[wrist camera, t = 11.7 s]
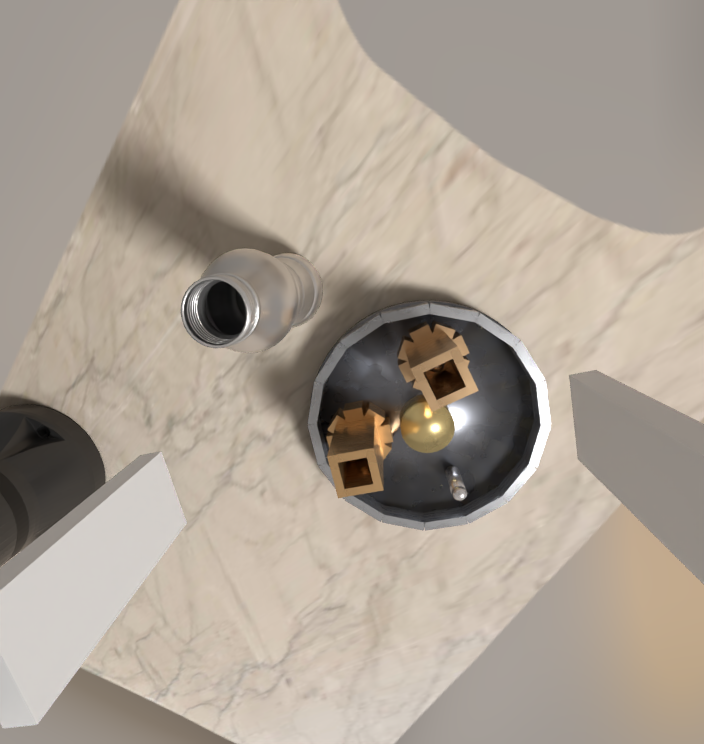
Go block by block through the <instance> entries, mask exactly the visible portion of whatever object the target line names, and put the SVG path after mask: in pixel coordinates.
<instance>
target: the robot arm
mask: <svg viewBox="0 0 704 744" xmlns="http://www.w3.org/2000/svg"><path fill="white" fill-rule="evenodd" d="M569 379H570V388H571V398H572V408H573V417H574V427H575V437H576V446H577V456H578V460H579V461H580V462H581V463H582V464H583V465H584V466H585V467H586V468H587V469H588V470H589V471H590V472H591V473H592V474H593V475H594V476H595V477H596V478H598V479H599V480H600V481H601V482H602V483H603V484H604V485H605V486H606V487H607V488H608V489H609V490H610V491H611V492H612V493H613V494H614V495H615V496H616V497H617V498H618V499H619V500H620V501H621V502H622V503H623V504H624V505H625V506H626V507H627V508H628V509H629V510H630V511H631V512H632V513H633V514H634V515H635V516H636V517H637V518H638V519H639V520H640V521H641V522H642V523H643V524H644V525H645V526H646V527H647V528H648V529H649V530H650V531H651V532H652V533H653V534H654V535H655V536H656V537H657V538H658V539H659V540H660V541H661V542H662V543H663V544H664V545H665V546H666V547H667V548H668V549H669V550H670V551H671V552H672V553H673V554H674V555H675V556H676V557H677V558H678V559H679V560H680V561H681V562H682V563H683V564H684V565H685V566H686V567H687V568H688V569H689V570H690V571H691V572H692V573H693V574H694V575H695V576H696V577H697V578H698V579H699V580H700V581H701V582H702V583H703V584H704V424H702V423H701V422H699V421H697V420H695V419H693V418H691V417H689V416H687V415H685V414H683V413H681V412H679V411H677V410H675V409H673V408H671V407H669V406H667V405H665V404H663V403H661V402H659V401H657V400H655V399H653V398H651V397H649V396H647V395H645V394H643V393H641V392H639V391H637V390H635V389H633V388H631V387H629V386H627V385H625V384H623V383H621V382H619V381H617V380H615V379H613V378H611V377H609V376H607V375H605V374H603V373H601V372H599V371H597V370H594V371H589V372H583V373H578V374H573V375H569ZM186 524H187V522H186V519H185V516H184V513H183V511H182V508H181V505H180V502H179V499H178V497H177V494H176V491H175V488H174V485H173V482H172V480H171V477H170V474H169V471H168V468H167V466H166V463H165V460H164V457H163V454H162V451H161V452H156V453H150V454H145V455H140V456H139V457H138V458H136V459H135V460H134V461H133V462H131V463H130V464H129V465H128V466H127V467H125V468H124V469H123V470H122V471H120V472H119V473H118V474H117V475H115V476H114V477H113V478H112V479H110V480H109V481H108V482H107V483H105V470H104V465H103V461H102V459H101V456H100V454H99V451H98V449H97V448H96V446H95V444H94V443H93V441H92V440H91V438H90V437H89V436H88V435H87V434H86V432H85V431H84V430H83V429H82V428H81V427H80V426H78V425H77V424H76V423H75V422H73V421H72V420H71V419H69V418H68V417H66V416H64V415H63V414H61V413H59V412H57V411H54V410H52V409H49V408H46V407H42V406H37V405H28V404H26V405H14V406H10V407H7V408H4V409H1V410H0V567H1V566H2V565H3V566H2V567H1V568H0V724H1V726H2V727H3V728H12V727H21V726H30V725H37V724H38V723H39V722H40V720H41V719H42V718H43V716H44V715H45V714H46V712H47V711H48V710H49V708H50V707H51V705H52V704H53V703H54V701H55V700H56V699H57V697H58V696H59V695H60V693H61V692H62V691H63V689H64V688H65V686H66V685H67V684H68V683H69V681H70V680H71V679H72V677H73V676H74V674H75V673H76V672H77V670H78V669H79V668H80V666H81V665H82V664H83V662H84V661H85V660H86V658H87V657H88V656H89V654H90V653H91V652H92V650H93V649H94V648H95V646H96V645H97V644H98V642H99V641H100V639H101V638H102V637H103V635H104V634H105V633H106V631H107V630H108V629H109V627H110V626H111V625H112V623H113V622H114V621H115V619H116V618H117V617H118V615H119V614H120V613H121V611H122V610H123V609H124V607H125V606H126V604H127V603H128V602H129V600H130V599H131V598H132V596H133V595H134V594H135V592H136V591H137V590H138V588H139V587H140V586H141V584H142V583H143V582H144V580H145V579H146V578H147V576H148V575H149V573H150V572H151V571H152V569H153V568H154V567H155V565H156V564H157V563H158V561H159V560H160V559H161V557H162V556H163V555H164V553H165V552H166V551H167V549H168V548H169V547H170V545H171V544H172V543H173V541H174V540H175V538H176V537H177V536H178V534H179V533H180V532H181V530H182V529H183V528H184V526H185V525H186ZM19 552H20V553H19ZM17 553H18V554H17ZM16 554H17V555H16ZM15 555H16V556H15ZM13 556H15V557H13ZM12 557H13V558H12ZM11 558H12V559H11ZM10 559H11V560H10ZM8 560H10V561H8ZM7 561H8V562H7ZM6 562H7V563H6ZM5 563H6V564H5ZM4 564H5V565H4Z"/></svg>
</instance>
